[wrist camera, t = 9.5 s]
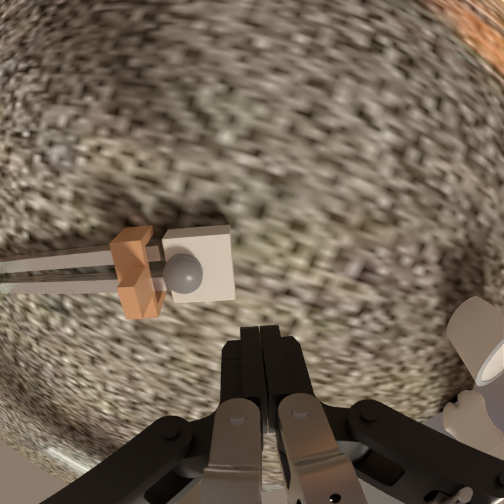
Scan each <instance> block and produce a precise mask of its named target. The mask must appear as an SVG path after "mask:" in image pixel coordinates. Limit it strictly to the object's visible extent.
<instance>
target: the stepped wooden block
mask: <svg viewBox="0 0 504 504" xmlns="http://www.w3.org/2000/svg"><path fill="white" fill-rule="evenodd" d="M153 234H154V231H153V225H148V226H138V227H129V228H124V229H123V230H122V231H121V232H120V233H119V234H118V235H117V236H116V237H115V238H114V239H113V240H112V241H111V242H110V243H109V244H110V249H111V253H112V257H113V261H114V265H115V269H116V273H117V277H118V281H119V285H118V286H117V290H118V294H119V297H120V300H121V304H122V307H123V310H124V313H125V317H126V319H143V318H157V317H158V316H159V313H160V310H161V307H162V304H163V302H164V299H165V296H166V293H165V291H154V286H153V282H152V278H151V273H150V268H149V264H148V259H147V254H146V249H145V246H146V244H147V243H148V241H149V240H150V239H151V237H152V236H153Z"/></svg>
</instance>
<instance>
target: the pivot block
mask: <svg viewBox="0 0 504 504" xmlns="http://www.w3.org/2000/svg"><path fill="white" fill-rule="evenodd" d="M162 242H163V248H164V254H165V259H166V265H165V267H164V269H163V280H164V282H165V284H166V285H167V286H168V287H169V288H170V289H171V290H172V295H173V300H174V303H187V302H205V301H221V300H235V299H236V297H235V278H234V267H233V255H232V244H231V232H230V224H229V225H216V226H203V227H191V228H180V229H168V230H167V232H166V234H165V235H164V237H163V239H162Z"/></svg>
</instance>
